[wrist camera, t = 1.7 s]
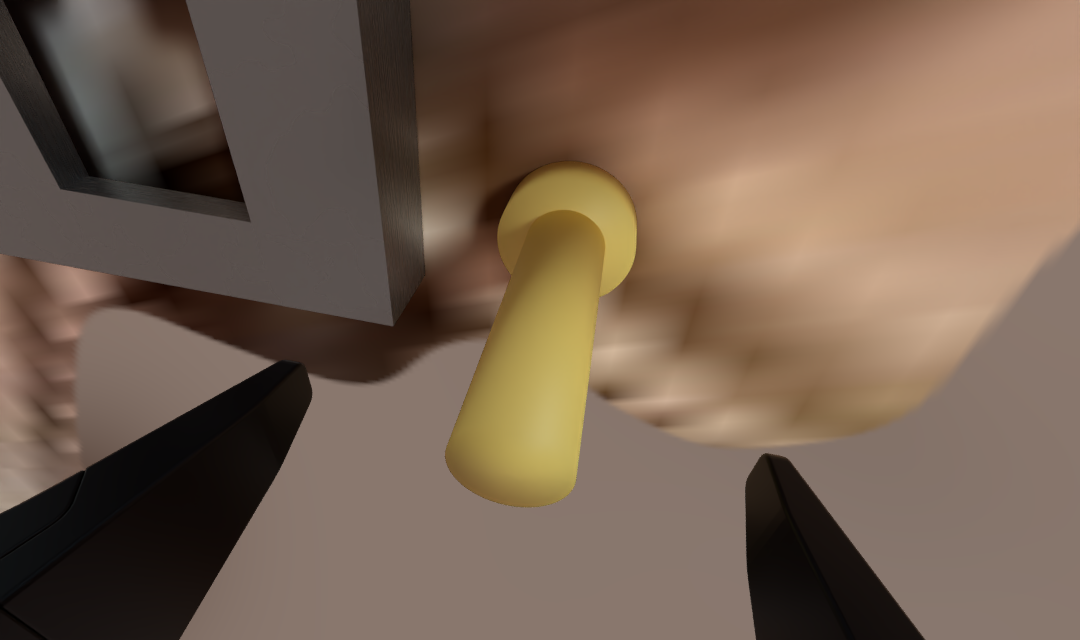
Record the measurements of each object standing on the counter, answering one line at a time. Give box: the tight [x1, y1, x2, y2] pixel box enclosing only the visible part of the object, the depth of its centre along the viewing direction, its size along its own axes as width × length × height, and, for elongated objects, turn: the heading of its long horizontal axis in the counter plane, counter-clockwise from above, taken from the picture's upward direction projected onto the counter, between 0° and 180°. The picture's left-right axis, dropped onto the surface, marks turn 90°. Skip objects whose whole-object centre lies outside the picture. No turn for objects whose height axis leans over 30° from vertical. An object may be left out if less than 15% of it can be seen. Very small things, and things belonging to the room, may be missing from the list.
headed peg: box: [445, 161, 637, 507], centre depth 13 cm, size 4×4×9 cm
